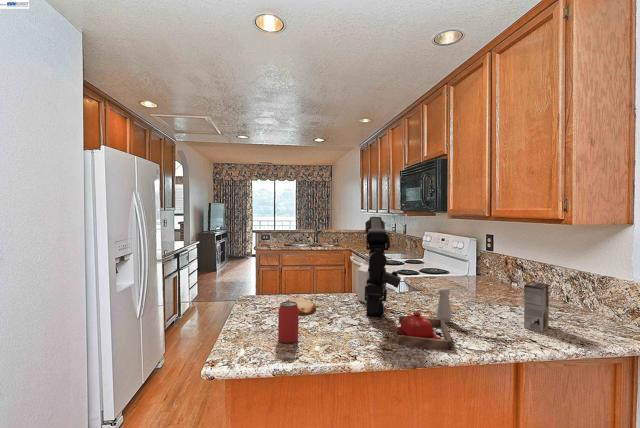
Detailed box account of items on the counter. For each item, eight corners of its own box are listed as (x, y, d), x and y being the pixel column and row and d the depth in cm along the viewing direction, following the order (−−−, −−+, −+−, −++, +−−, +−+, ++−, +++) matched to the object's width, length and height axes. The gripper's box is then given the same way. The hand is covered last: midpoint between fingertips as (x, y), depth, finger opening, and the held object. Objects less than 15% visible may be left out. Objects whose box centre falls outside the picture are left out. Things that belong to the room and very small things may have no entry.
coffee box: (529, 322, 124) (529, 281, 124) (549, 326, 119) (549, 284, 119) (523, 327, 118) (523, 284, 118) (544, 332, 113) (544, 287, 113)
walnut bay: (398, 344, 101) (398, 336, 101) (399, 321, 123) (399, 315, 123) (452, 350, 97) (452, 342, 97) (443, 325, 119) (443, 319, 119)
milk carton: (366, 304, 147) (366, 263, 147) (357, 300, 153) (357, 261, 153) (378, 302, 150) (378, 262, 150) (369, 298, 156) (369, 260, 156)
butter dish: (441, 341, 104) (441, 316, 104) (408, 344, 102) (409, 317, 102) (423, 329, 115) (423, 306, 115) (394, 331, 113) (394, 307, 113)
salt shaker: (453, 324, 121) (453, 290, 121) (437, 323, 122) (437, 289, 122) (449, 319, 126) (450, 286, 126) (434, 318, 127) (435, 286, 127)
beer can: (278, 336, 107) (279, 300, 107) (298, 335, 107) (298, 300, 107) (277, 344, 100) (278, 306, 100) (298, 343, 100) (298, 306, 101)
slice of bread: (290, 301, 151) (290, 293, 151) (325, 305, 144) (325, 297, 144) (270, 311, 135) (270, 303, 135) (308, 317, 128) (309, 308, 128)
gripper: (399, 270, 103) (398, 318, 103) (399, 262, 121) (399, 303, 121) (365, 268, 106) (364, 315, 106) (370, 261, 124) (370, 301, 124)
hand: (376, 308), depth 114 cm, fingers open, 9 cm apart
